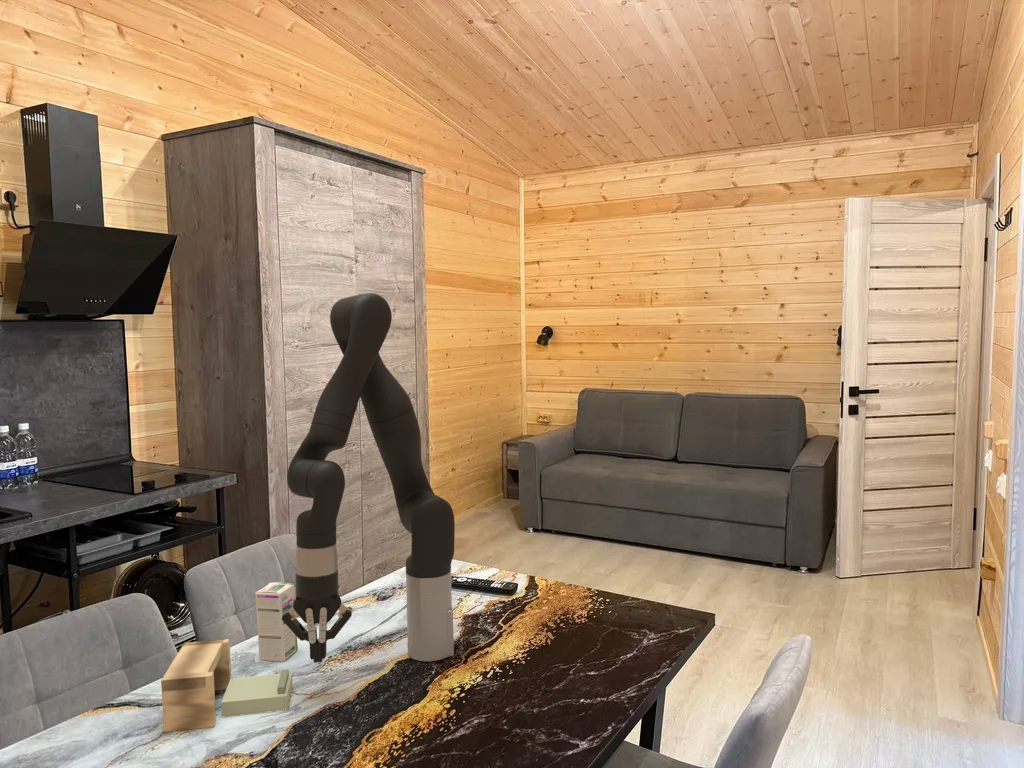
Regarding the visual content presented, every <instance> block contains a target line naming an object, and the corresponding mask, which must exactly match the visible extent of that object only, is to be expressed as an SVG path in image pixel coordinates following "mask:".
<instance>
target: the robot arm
mask: <svg viewBox="0 0 1024 768" xmlns="http://www.w3.org/2000/svg"><path fill="white" fill-rule="evenodd" d="M392 320H393V314H392V309H391V307H390V305H389V302H388V301H387V300H386V299H385V297H383V296H381V295H380V294H377V293H373V292H368V293H367V292H365V293H361V294H357V295H351V296H347V297H344V298H341V299H338V300H337V301H335V303H334V304H333V305H332V308H331V310H330V314H329V321H330V327H331V331H332V333H333V336H334V338H335V340H336V343H337V345H338V347H339V349H340V351H341V353H342V355H343V356H342V358H341V360H340V362H339V365H338V366H337V368H336V370H335V372H334V373H333V374H332V376H331V377H330V379H329V380H328V382H327V384H326V385H325V387H324V388H323V391H322V392H321V395H320V397H319V399H318V402H317V404H316V407H315V410H314V413H313V417H312V420H311V424H310V428H309V430H308V433H307V435H306V436H305V438H304V439H303V441H302V442H301V444H300V445H299V448H298V449H297V450H296V452H295V454H294V456H293V458H292V459H291V460H290V464H289V466H288V469H287V472H286V473H287V474H286V483H287V486H288V488H289V491H290V492H291V493H293V495H295V496H298V497H303V498H307V499H308V498H309V499H313V501H312V505H311V509H308V510H304V511H302V512H300V513H299V515H298V516H297V518H296V523H295V524H296V535H295V536H296V550H295V556H294V557H295V561H294V562H295V564H294V570H295V601H294V603H293V607H291V608H290V609H289V610H285V611H284V613H283V615H282V620H283V621H284V623H285V624H286V625H287V626H288V627H289V628H290V629H291V631H292V632H293V633H294V634H295V635H296V636H297V639H298V640H299V641H302V642H303V641H306V642H308V643H309V658H310V660H313V663H314V664H315V663H323V660H325V659H326V657H327V641H329V640H333V639H335V638H336V637H337V635H338V634H339V633H340V632H341V630H342V629H343V627H344V626H345V625H346V624H347V622H348V621H349V620H350V619H351V617H352V615H353V607H351V606H348V607H347V606H346V605H344V604H343V603H342V598H341V596H340V593H339V552H338V544H337V519H338V516H339V512H340V509H341V508H340V507H341V504H342V501H343V496H344V493H345V487H346V478H345V477H346V476H345V473H344V471H343V469H342V467H341V465H340V464H338V463H337V462H335V461H333V460H326V458H327V457H328V456H329V454H330V453H331V452H333V451H338V450H342V449H343V448H345V446H346V444H347V442H348V438H349V436H350V432H351V428H352V425H353V421H354V418H355V414H356V410H357V408H358V404H359V402H360V401H361V404H362V406H363V408H364V412H365V416H366V419H367V421H368V424H369V427H370V431H371V433H372V436H373V440H374V442H375V443H376V447H377V448H378V452H379V454H380V457H381V459H382V461H383V464H384V467H385V469H386V471H387V474H388V476H389V479H390V482H391V486H392V489H393V494H394V497H395V498H394V499H395V503H396V508H397V512H398V516H399V520H400V522H401V524H402V527H404V528H405V530H406V531H407V532H408V533H409V534H411V553H410V555H408V556H407V558H406V560H405V583H406V584H405V585H406V587H405V590H406V621H407V622H406V623H407V624H406V626H407V629H406V630H407V654H408V657H409V658H411V659H412V660H416V661H419V662H434V661H440V660H444V659H446V658H448V657H454V656H455V649H454V648H455V645H454V641H455V640H454V638H455V637H454V610H453V606H452V605H453V604H452V602H453V601H452V596H453V595H452V561H453V559H454V555H455V535H456V534H455V529H456V528H455V527H456V525H455V515H454V510H453V507H452V506H451V504H450V503H449V502H448V501H447V500H446V499H445V498H442V497H441V496H439V495H437V494H435V493H434V491H433V489H432V487H431V485H430V482H429V480H428V477H427V474H426V472H425V469H424V465H423V461H422V435H421V429H420V424H419V421H418V418H417V414H416V411H415V409H414V405H413V403H412V401H411V398H410V396H409V394H408V393H407V391H406V390H405V388H403V386H402V385H401V383H400V382H399V381H398V380H397V379H396V377H395V376H394V375H393V374H392V372H391V371H390V370H389V369H388V367H387V366H386V364H385V363H384V361H383V360H382V359H383V358H382V357H381V354H380V352H381V348H382V346H383V345H384V342H385V340H386V338H387V336H388V334H389V330H390V328H391V325H392ZM337 612H338V613H337ZM335 614H338V615H337V616H338V618H337V619H336V621H335V622H334V623H333V625H332V626H331V628H330V629H328V622H330V621H331V620H332V619H333V618H334V616H335ZM298 616H299V618H300V619H301V620H302V621H303V622H304V623H305V624H306V627H305V626H304V625H303V624H302V623H301V622H300V621H299V620H298V619H297V617H298ZM317 624H319V625H318V628H317Z"/></svg>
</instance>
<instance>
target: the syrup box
mask: <svg viewBox="0 0 1024 768" xmlns="http://www.w3.org/2000/svg"><path fill="white" fill-rule="evenodd" d="M254 594H255V608H256V610H255V611H256V623H257V625H256V626H257V643H258V657H259V660H261V661H269V662H279V663H284V662H286V660H287V659H288V658H290V657H291V656H292V655H294V653H295V652H297V651H298V649H299V648H298V637H297V636H296V635H295V634H294V633H293V632H292V631H291V629H290V628H289V627H288V626H287V625H286V624H285V623H284V621H283V620H282V615H283V613H284V611H285V610H289V609H290V608H291V607H293V603H294V601H295V599H296V592H295V584H294V583H290V582H280V581H279V582H269V583H268V584H267V585H265V586H264V587H262V588H261V589H259V590H257V591H256V592H255V593H254Z"/></svg>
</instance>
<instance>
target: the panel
mask: <svg viewBox="0 0 1024 768" xmlns="http://www.w3.org/2000/svg"><path fill="white" fill-rule="evenodd" d="M293 685H294V683H293V672H290V671H289V669H287V668H286V669H281V673H275V674H265V675H264V674H263V675H253V676H244V677H233V678H232V677H231V679H230V682H229V684H228V687H227V689H225V692H224V695H223V697H222V700H221V703H220V704H221V717H222V716H225V717H231V716H233V715H235V716H241V715H240V714H244V715H250V714H251V713H254V714H261V713H260V712H263V713H268V712H267V711H272V712H277V711H276V710H282V711H286V710H285V709H287V708H289V705H288V704H289V703H290V700H289V699H291V695H292V690H293ZM283 709H284V710H283ZM287 710H288V709H287ZM249 713H250V714H249ZM251 715H252V714H251Z"/></svg>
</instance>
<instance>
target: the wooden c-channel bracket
mask: <svg viewBox="0 0 1024 768" xmlns="http://www.w3.org/2000/svg"><path fill="white" fill-rule="evenodd" d="M230 643H231V641H230V638H226V639H214V640H213V639H212V640H200V641H191V642H190V641H187V642H184V643H183V645H182V646H181V648H180V650H179V651H178V653H177V655H175V658H174V659H173V661H172V662H171V664H170V665H169V667H168V669H167V671H166V672H165V674H164V675H163V677H162V679H161V680H160V682H161V683H160V684H161V699H162V700H161V701H162V702H161V703H162V719H163V733H167V732H168V733H169V732H177V730H179V731H188V729H189V730H198V729H207V728H215V726H216V724H217V716H216V714H217V713H216V712H217V711H216V696H215V694H216V693H215V691H219V690H220V691H221V690H226V689H227V687H228V684H229V682H230V679H231V678H232V662H231V645H230Z"/></svg>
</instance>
